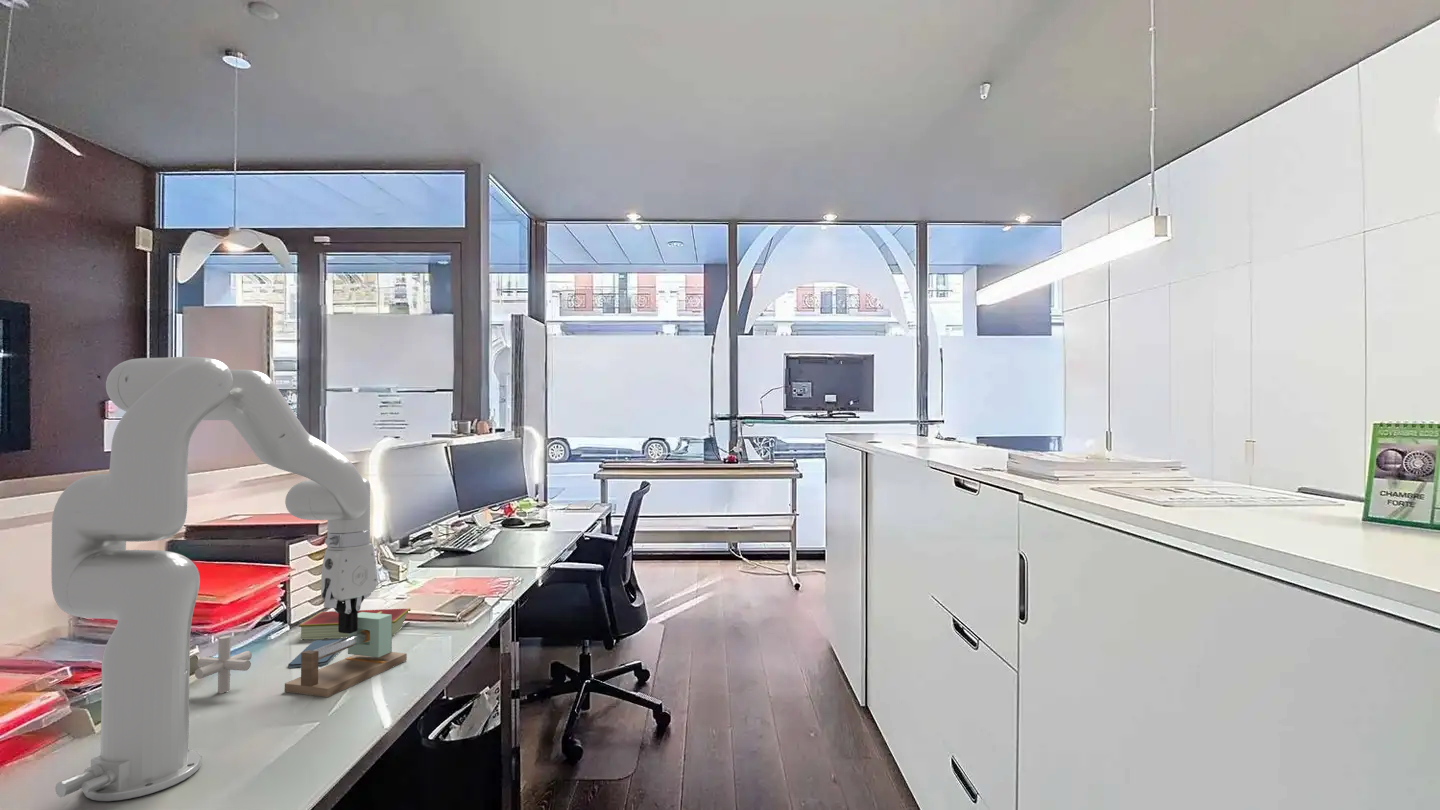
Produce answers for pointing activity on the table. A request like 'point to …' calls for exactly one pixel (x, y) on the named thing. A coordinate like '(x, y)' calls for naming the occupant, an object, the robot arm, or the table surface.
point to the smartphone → (314, 645)
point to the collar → (373, 634)
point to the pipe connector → (223, 664)
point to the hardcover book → (328, 623)
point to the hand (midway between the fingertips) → (347, 631)
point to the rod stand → (340, 668)
